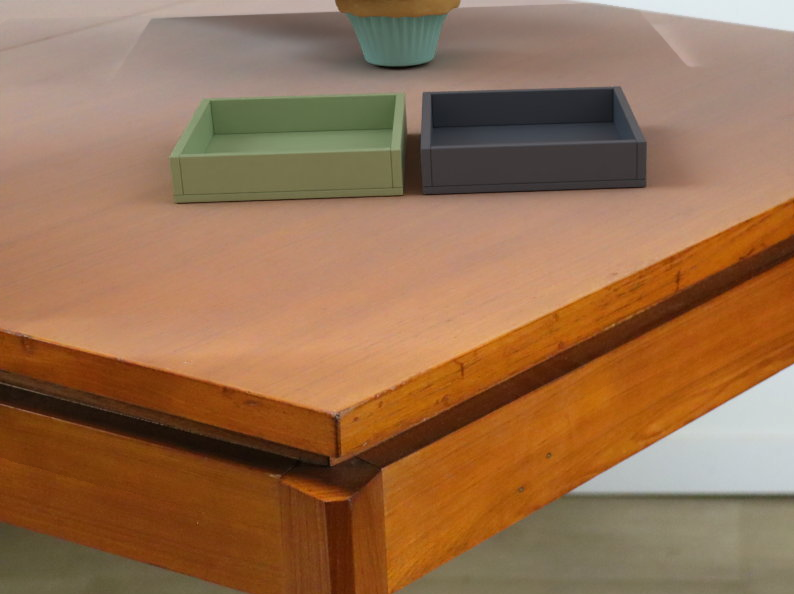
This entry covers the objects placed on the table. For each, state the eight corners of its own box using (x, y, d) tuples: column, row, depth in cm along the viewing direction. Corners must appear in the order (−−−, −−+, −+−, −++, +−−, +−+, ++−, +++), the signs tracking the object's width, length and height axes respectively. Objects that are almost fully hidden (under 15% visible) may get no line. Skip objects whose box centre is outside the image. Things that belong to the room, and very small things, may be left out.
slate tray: (422, 194, 77) (420, 148, 76) (424, 132, 88) (422, 91, 87) (646, 187, 78) (646, 141, 77) (620, 126, 89) (620, 85, 88)
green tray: (174, 203, 76) (168, 157, 75) (207, 139, 87) (202, 98, 86) (403, 195, 77) (400, 149, 76) (407, 133, 88) (405, 92, 87)
